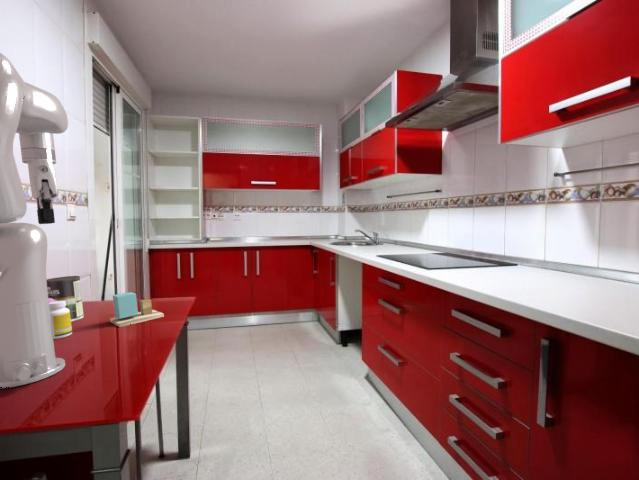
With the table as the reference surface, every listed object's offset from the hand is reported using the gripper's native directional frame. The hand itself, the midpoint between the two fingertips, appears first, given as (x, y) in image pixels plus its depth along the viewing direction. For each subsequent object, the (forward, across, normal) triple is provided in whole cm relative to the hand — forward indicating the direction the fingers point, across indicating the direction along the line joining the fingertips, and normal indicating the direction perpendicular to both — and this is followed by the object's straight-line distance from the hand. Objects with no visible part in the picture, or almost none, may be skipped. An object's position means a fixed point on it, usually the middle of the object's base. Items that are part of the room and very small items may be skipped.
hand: (46, 222), depth 101 cm
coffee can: (+32, +20, -5) cm, 38 cm away
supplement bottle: (+32, -2, 0) cm, 32 cm away
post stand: (+32, -3, -20) cm, 38 cm away
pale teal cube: (+30, -3, -17) cm, 35 cm away
